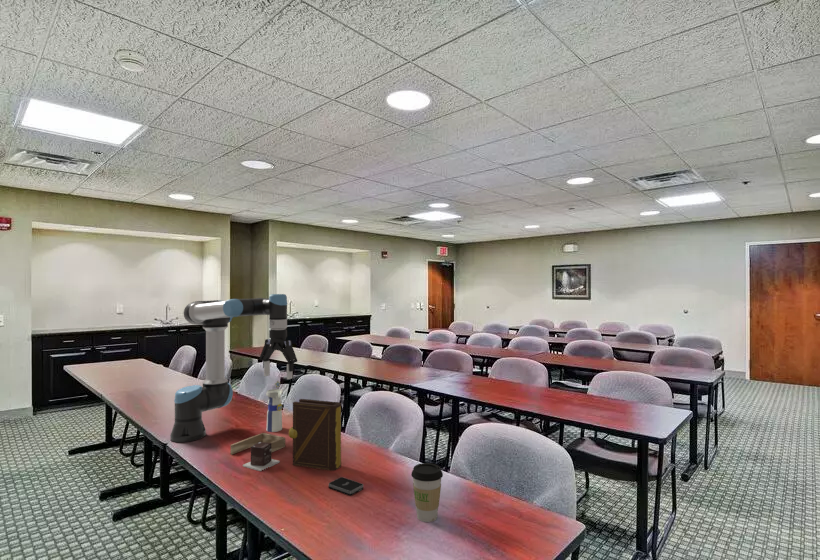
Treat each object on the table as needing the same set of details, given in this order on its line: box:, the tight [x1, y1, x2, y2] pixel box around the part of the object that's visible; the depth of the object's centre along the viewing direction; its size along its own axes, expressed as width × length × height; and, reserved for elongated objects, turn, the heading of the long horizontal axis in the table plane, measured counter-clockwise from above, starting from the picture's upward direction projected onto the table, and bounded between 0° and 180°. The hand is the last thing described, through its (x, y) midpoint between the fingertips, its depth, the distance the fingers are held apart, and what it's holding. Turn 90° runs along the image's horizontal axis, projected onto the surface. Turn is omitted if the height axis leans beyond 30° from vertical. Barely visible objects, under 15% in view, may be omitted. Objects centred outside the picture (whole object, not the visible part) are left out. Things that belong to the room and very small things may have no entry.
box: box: [250, 442, 272, 466], centre depth 180 cm, size 6×6×7 cm
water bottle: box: [265, 380, 284, 433], centre depth 224 cm, size 8×9×25 cm
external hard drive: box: [328, 476, 364, 497], centre depth 158 cm, size 7×11×2 cm, turn 55°
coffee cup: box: [411, 462, 444, 523], centre depth 139 cm, size 10×10×15 cm
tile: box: [242, 458, 281, 472], centre depth 180 cm, size 10×10×1 cm
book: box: [288, 398, 342, 472], centre depth 180 cm, size 22×8×25 cm, turn 71°
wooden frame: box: [230, 432, 286, 455], centre depth 195 cm, size 14×18×4 cm
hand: (278, 377), depth 196 cm, fingers open, 13 cm apart
